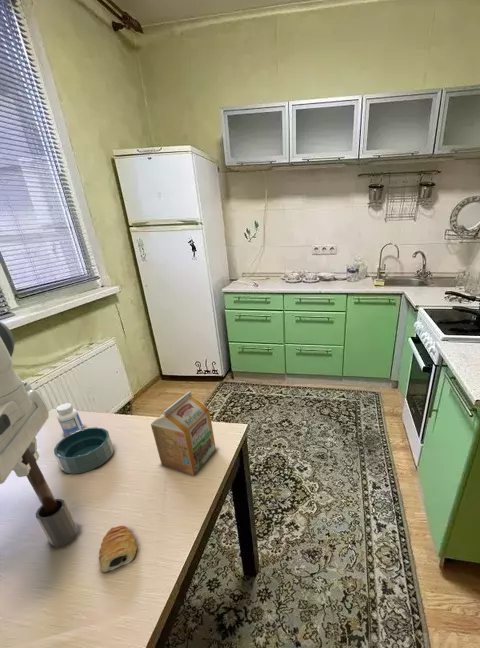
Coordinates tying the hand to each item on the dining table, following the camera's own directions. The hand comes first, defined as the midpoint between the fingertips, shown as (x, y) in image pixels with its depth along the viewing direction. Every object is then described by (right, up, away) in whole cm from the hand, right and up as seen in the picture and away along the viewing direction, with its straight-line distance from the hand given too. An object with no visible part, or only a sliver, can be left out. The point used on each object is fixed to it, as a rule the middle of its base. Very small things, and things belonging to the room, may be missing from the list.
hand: (29, 467), depth 61 cm
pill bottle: (-20, -2, +43) cm, 47 cm away
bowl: (-8, -7, +31) cm, 33 cm away
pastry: (+14, -20, +6) cm, 25 cm away
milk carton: (+21, -7, +30) cm, 38 cm away
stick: (+1, -12, +6) cm, 14 cm away
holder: (0, -18, +9) cm, 20 cm away
